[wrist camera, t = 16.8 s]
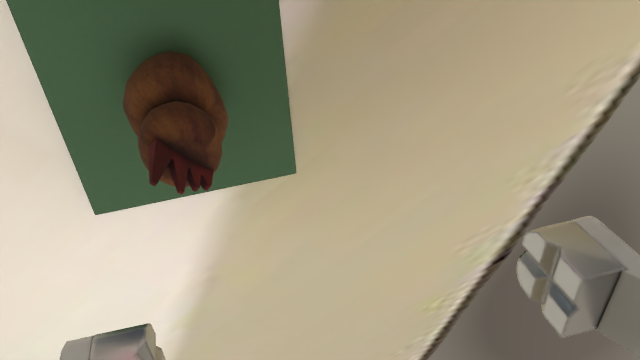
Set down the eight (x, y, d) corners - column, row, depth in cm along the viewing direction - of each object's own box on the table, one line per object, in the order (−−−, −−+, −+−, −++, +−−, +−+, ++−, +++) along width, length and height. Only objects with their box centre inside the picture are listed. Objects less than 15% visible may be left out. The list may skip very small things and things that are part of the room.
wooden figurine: (109, 65, 34) (88, 183, 22) (180, 23, 34) (198, 119, 22) (168, 137, 38) (176, 269, 26) (231, 100, 38) (270, 216, 26)
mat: (268, -81, 32) (270, -80, 32) (294, 169, 44) (296, 173, 43) (-13, -53, 29) (-16, -51, 28) (95, 211, 40) (95, 215, 40)
